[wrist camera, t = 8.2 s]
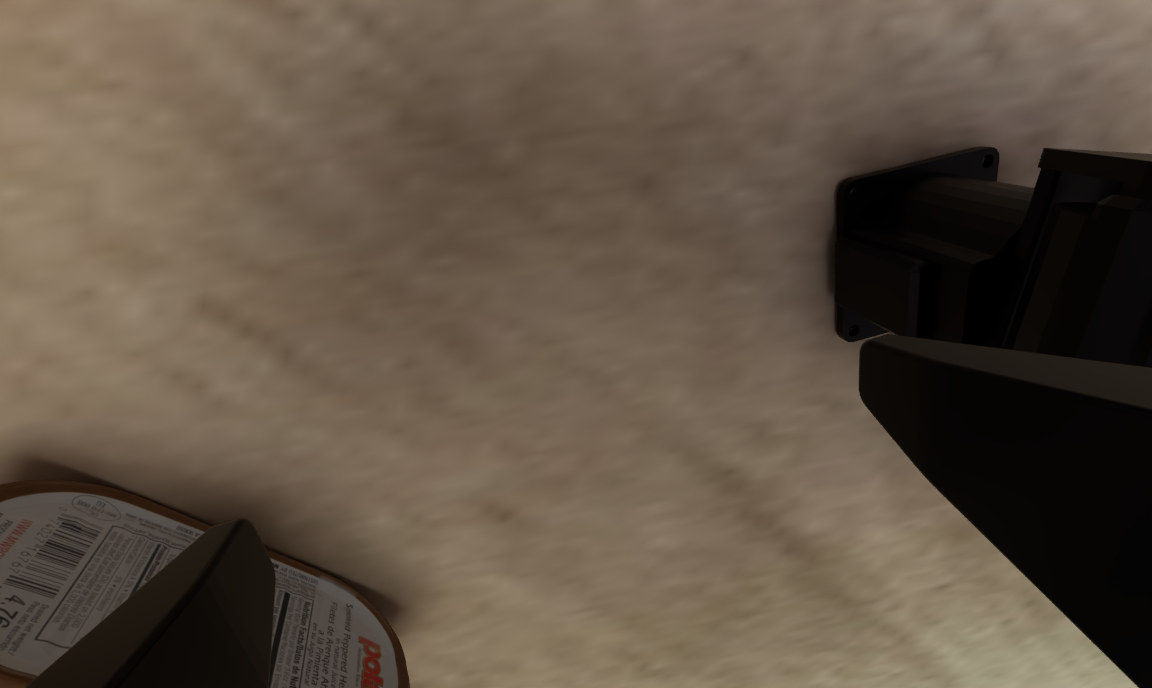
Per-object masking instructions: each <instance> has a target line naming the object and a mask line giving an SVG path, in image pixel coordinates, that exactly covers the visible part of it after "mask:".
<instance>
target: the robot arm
mask: <svg viewBox="0 0 1152 688" xmlns="http://www.w3.org/2000/svg"><path fill="white" fill-rule="evenodd" d="M984 157H985V160H984V163H983V164H982V160H983V158H984ZM998 165H999V153H998V151H997V149H995V148H993V147H976V148H972V149H968V150H964V151H960V152H956V153H951V154H947V155H943V156H939V157H935V158H931V159H926V160H922V161H918V162H914V163H910V164H906V165H901V166H897V167H893V168H889V169H885V170H881V171H877V172H872V173H868V174H864V175H860V176H856V177H852V178H848V179H846V180H844V181H843V182H842V183H841V185H840V187H839V188H838V192H837V241H836V244H835V301H836V303H837V334H838V335H839V337H841V338H842V339H844V340H846V341H848V342H855V341H858V340H862V339H865V338H869V337H872V336H876V335H879V334H883V333H886V332H891V333H893V334H895V335H884V336H881V337H877V338H874V339H870V340H867V341H865V342H864V343H863V344H862V346H861V348H860V357H859V393H860V396H861V399H862V401H863V403H864V404H865V406H866V407H867V408H868V410H869V411H870V412H871V413H872V414H873V416H874V417H875V418H876V419H877V420H878V422H879V423H880V424H881V425H882V426H883V428H884V429H885V430H886V431H887V432H888V434H889V435H890V436H891V437H892V438H893V440H894V441H895V442H896V443H897V444H898V446H899V447H900V448H901V449H902V450H903V452H904V453H905V454H906V455H907V456H908V458H909V459H910V460H911V461H912V462H913V464H914V465H915V466H916V467H917V468H918V469H919V471H920V472H921V473H922V474H923V475H924V476H925V477H926V478H927V479H928V480H929V482H930V483H931V484H932V485H933V486H934V487H935V488H936V489H937V490H938V491H939V492H940V493H941V494H942V495H943V496H944V497H945V498H946V499H947V500H948V501H949V502H950V503H951V504H952V505H953V506H954V507H955V508H957V509H958V510H959V511H960V512H961V513H962V514H963V515H964V516H965V517H966V518H967V519H968V520H969V521H970V522H971V523H972V524H973V525H974V526H975V527H976V528H977V529H978V530H979V531H980V532H981V533H982V534H983V535H984V536H985V537H986V538H987V539H988V540H989V541H990V542H991V543H992V544H993V545H994V546H995V547H996V548H997V549H998V550H999V551H1000V552H1001V553H1002V554H1003V555H1004V556H1005V557H1006V558H1007V559H1008V560H1009V561H1010V562H1011V563H1012V564H1013V565H1014V566H1015V567H1016V568H1018V569H1019V570H1020V571H1021V572H1022V573H1023V574H1024V575H1025V576H1026V577H1027V578H1028V579H1029V580H1030V581H1031V582H1032V583H1033V584H1034V585H1035V586H1036V587H1037V588H1038V589H1039V590H1040V591H1041V592H1042V593H1043V594H1044V595H1045V596H1046V597H1047V598H1048V599H1049V600H1050V601H1051V602H1052V603H1053V604H1054V605H1055V606H1056V607H1057V608H1058V609H1059V610H1060V611H1061V612H1062V613H1063V614H1064V615H1065V616H1066V617H1067V618H1068V619H1069V620H1070V621H1071V622H1072V623H1073V624H1074V625H1075V626H1076V627H1077V628H1079V629H1080V630H1081V631H1082V632H1083V633H1084V634H1085V635H1086V636H1087V637H1088V638H1089V639H1090V640H1091V641H1092V642H1093V643H1094V644H1095V645H1096V646H1097V647H1098V648H1099V649H1100V650H1101V651H1102V652H1103V653H1104V654H1105V655H1106V656H1107V657H1108V658H1109V659H1110V660H1111V661H1112V662H1113V663H1114V664H1115V665H1116V666H1117V667H1118V668H1119V669H1120V670H1121V671H1122V672H1123V673H1124V674H1125V675H1126V676H1127V677H1128V678H1129V679H1130V680H1131V681H1132V682H1133V683H1134V684H1135V685H1136V686H1137V687H1138V688H1152V154H1142V153H1125V152H1107V151H1090V150H1073V149H1056V148H1044V149H1043V152H1042V155H1041V158H1040V161H1039V164H1038V167H1039V168H1041V171H1040V174H1039V177H1038V180H1037V183H1036V186H1035V188H1030V187H1024V186H1018V185H1012V184H1006V183H1000V182H997V174H998ZM854 187H855V189H856V191H855V194H854V196H853V197H851V198H850V192H851V190H852V189H853V188H854ZM851 326H853V329H852V330H851V331H850V332H848V331H849V328H850V327H851ZM275 586H276V576H275V570H274V566H273V563H272V561H271V559H270V557H269V555H268V553H267V551H266V549H265V547H264V545H263V543H262V541H261V539H260V537H259V535H258V534H257V532H256V530H255V528H254V526H253V524H252V523H251V522H250V521H249V520H248V519H245V518H238V519H235V520H231V521H228V522H224V523H221V524H217V525H214V526H212V527H211V528H209V529H208V530H207V531H206V532H205V533H203V534H202V535H201V536H200V537H199V538H198V539H196V540H195V541H194V542H193V543H192V544H191V545H189V546H188V547H187V548H186V549H185V550H184V551H182V552H181V553H180V554H179V555H178V556H177V557H176V558H174V559H173V560H172V561H171V562H170V563H169V564H167V565H166V566H165V567H164V568H163V569H162V570H160V571H159V572H158V573H157V574H156V575H155V576H153V577H152V578H151V579H150V580H149V581H148V582H146V583H145V584H144V585H143V586H142V587H141V588H140V589H138V590H137V591H136V592H135V593H134V594H133V595H131V596H130V597H129V598H128V599H127V600H126V601H124V602H123V603H122V604H121V605H120V606H119V607H117V608H116V609H115V610H114V611H113V612H112V613H111V614H109V615H108V616H107V617H106V618H105V619H104V620H102V621H101V622H100V623H99V624H98V625H97V626H95V627H94V628H93V629H92V630H91V631H90V632H88V633H87V634H86V635H85V636H84V637H83V638H82V639H80V640H79V641H78V642H77V643H76V644H75V645H73V646H72V647H71V648H70V649H69V650H68V651H66V652H65V653H64V654H63V655H62V656H61V657H59V658H58V659H57V660H56V661H55V662H54V663H52V664H51V665H50V666H49V667H48V668H47V669H46V670H44V671H43V672H42V673H41V674H40V675H39V676H37V677H36V678H35V679H34V680H33V681H32V682H30V683H29V684H28V685H27V686H26V687H25V688H268V686H269V676H270V662H271V647H272V632H273V617H274V601H275Z"/></svg>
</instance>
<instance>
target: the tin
mask: <svg viewBox="0 0 1152 688" xmlns="http://www.w3.org/2000/svg"><path fill="white" fill-rule="evenodd" d="M211 527H212V526H210V525H208V524H205V523H203V522H200V521H198V520H196V519H193V518H191V517H188V516H186V515H183V514H181V513H179V512H176V511H174V510H171V509H169V508H166V507H164V506H162V505H159V504H157V503H154V502H152V501H150V500H147V499H145V498H142V497H140V496H137V495H134V494H131V493H128V492H125V491H122V490H119V489H115V488H111V487H107V486H102V485H97V484H91V483H85V482H77V481H68V480H31V481H22V482H14V483H8V484H3V485H0V688H25V687H26V686H27V685H28V684H29V683H30V682H32V681H33V680H34V679H35V678H36V677H37V676H39V675H40V674H41V673H42V672H43V671H44V670H46V669H47V668H48V667H49V666H50V665H51V664H52V663H54V662H55V661H56V660H57V659H58V658H59V657H61V656H62V655H63V654H64V653H65V652H66V651H68V650H69V649H70V648H71V647H72V646H73V645H75V644H76V643H77V642H78V641H79V640H80V639H82V638H83V637H84V636H85V635H86V634H87V633H88V632H90V631H91V630H92V629H93V628H94V627H95V626H97V625H98V624H99V623H100V622H101V621H102V620H104V619H105V618H106V617H107V616H108V615H109V614H111V613H112V612H113V611H114V610H115V609H116V608H117V607H119V606H120V605H121V604H122V603H123V602H124V601H126V600H127V599H128V598H129V597H130V596H131V595H133V594H134V593H135V592H136V591H137V590H138V589H140V588H141V587H142V586H143V585H144V584H145V583H146V582H148V581H149V580H150V579H151V578H152V577H153V576H155V575H156V574H157V573H158V572H159V571H160V570H162V569H163V568H164V567H165V566H166V565H167V564H169V563H170V562H171V561H172V560H173V559H174V558H176V557H177V556H178V555H179V554H180V553H181V552H182V551H184V550H185V549H186V548H187V547H188V546H189V545H191V544H192V543H193V542H194V541H195V540H196V539H198V538H199V537H200V536H201V535H202V534H203V533H205V532H206V531H207V530H208V529H209V528H211ZM265 549H266V548H265ZM266 551H267V553H268V555H269V557H270V559H271V561H272V563H273V566H274V570H275V576H276V586H275V601H274V617H273V632H272V647H271V662H270V676H269V686H268V688H410V683H409V676H408V672H407V667H406V660H405V656H404V652H403V649H402V646H401V644H400V641H399V639H398V637H397V636H396V634H395V632H394V631H393V629H392V628H391V626H390V625H389V624H388V622H387V621H386V619H385V618H384V617H383V616H382V615H381V614H380V612H379V611H378V610H377V609H376V608H375V607H374V606H373V605H372V604H371V603H370V602H369V601H368V600H367V599H366V598H364V597H363V596H362V595H361V594H360V593H358V592H357V591H356V590H354V589H353V588H352V587H350V586H349V585H347V584H346V583H344V582H342V581H340V580H338V579H337V578H335V577H333V576H331V575H329V574H327V573H324V572H322V571H319V570H317V569H315V568H312V567H310V566H307V565H305V564H302V563H300V562H298V561H295V560H293V559H290V558H288V557H286V556H283V555H281V554H278V553H276V552H273V551H271V550H269V549H266Z"/></svg>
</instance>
